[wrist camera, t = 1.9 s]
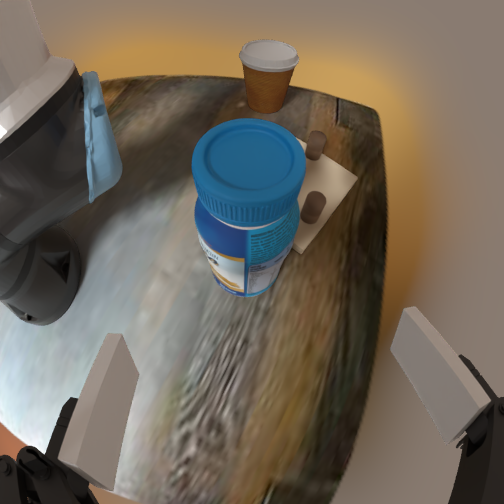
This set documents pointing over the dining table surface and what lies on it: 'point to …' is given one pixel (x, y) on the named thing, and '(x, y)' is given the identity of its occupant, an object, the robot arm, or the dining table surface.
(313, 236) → the peg board
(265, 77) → the disposable coffee cup
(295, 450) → the dining table surface
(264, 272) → the beverage bottle
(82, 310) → the dining table surface
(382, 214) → the dining table surface
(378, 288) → the dining table surface
